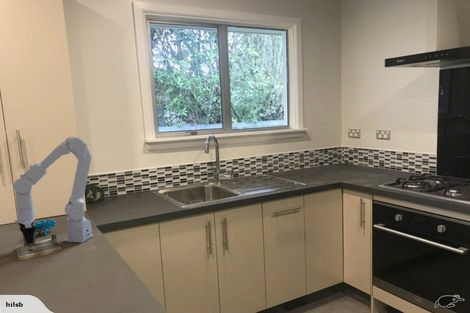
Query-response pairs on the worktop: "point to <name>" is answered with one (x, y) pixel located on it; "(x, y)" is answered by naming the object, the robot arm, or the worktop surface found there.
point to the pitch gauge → (38, 248)
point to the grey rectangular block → (26, 243)
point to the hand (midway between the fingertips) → (29, 240)
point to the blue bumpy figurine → (44, 226)
